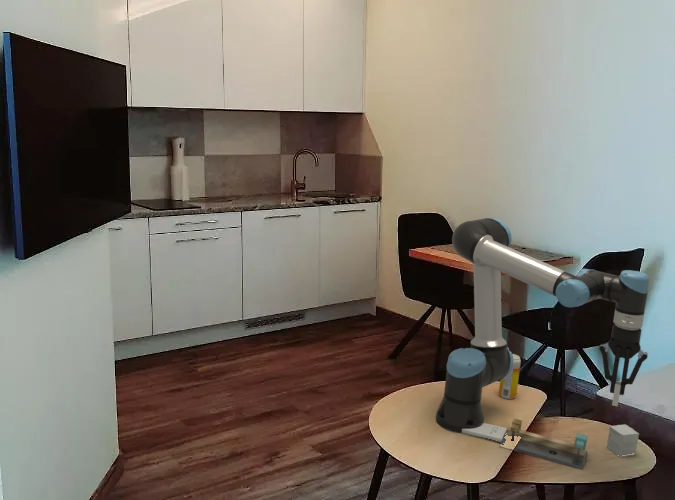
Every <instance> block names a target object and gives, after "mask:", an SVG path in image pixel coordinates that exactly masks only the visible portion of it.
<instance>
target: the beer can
mask: <svg viewBox="0 0 675 500" xmlns="http://www.w3.org/2000/svg"><path fill="white" fill-rule="evenodd" d="M512 355H513V367H512V370H511V372H510V373H509V374H508V375H507V376H506V377H504V378H503V379H502V380H500V381H499V386H498V387H499V388H498V394H499V396H500V397H501V398H503V399H505V400H513V398H514V399H515V398H516V397H517V392H518V386H519V378H520V377H519V376H520V370H521V362H522V360H521V357H520V356H519V355H517V354H515V353H512Z"/></svg>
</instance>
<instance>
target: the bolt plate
mask: <svg viewBox="0 0 675 500" xmlns="http://www.w3.org/2000/svg"><path fill="white" fill-rule="evenodd" d="M506 433H507V431H506ZM506 433H505V434H506ZM505 436H506V435H504V437H505ZM504 437H503V439H502V441H501V442H499V445H500V444H502V445H504V444H503V443H505V441H506V439H505V438H504ZM513 452H517V453H520V454H525V455H528V456H532V457H535V458H539V459H542V460H546V461H551V462H554V463H557V464H560V465H564V466H569V467H572V468H575V469H579V470H583V469H584V466H585V462H586V458H587V454H588V451H587V450H585V454H584V456H582V455H579V459H577V458H576V457H577V454H574V453H571V452H567V451H563V450H559V449H556V448H552V447H548V446H544V445H541V444H537V443H533V442H529V441H526V440H522V439H520V441H519V443H518V444H517V446H516V447H515V449H514V451H513Z"/></svg>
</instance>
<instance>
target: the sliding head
mask: <svg viewBox="0 0 675 500" xmlns="http://www.w3.org/2000/svg"><path fill="white" fill-rule="evenodd" d="M588 438H589V437H588V434H584V433H579V432H577V433H576V435H575V440H574V444H575V446H574V447H576V448H578V451H577V457H576V458H577V459H579V454H580V449H584V450H585V451H586V449H585V448H587V442H588Z"/></svg>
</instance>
